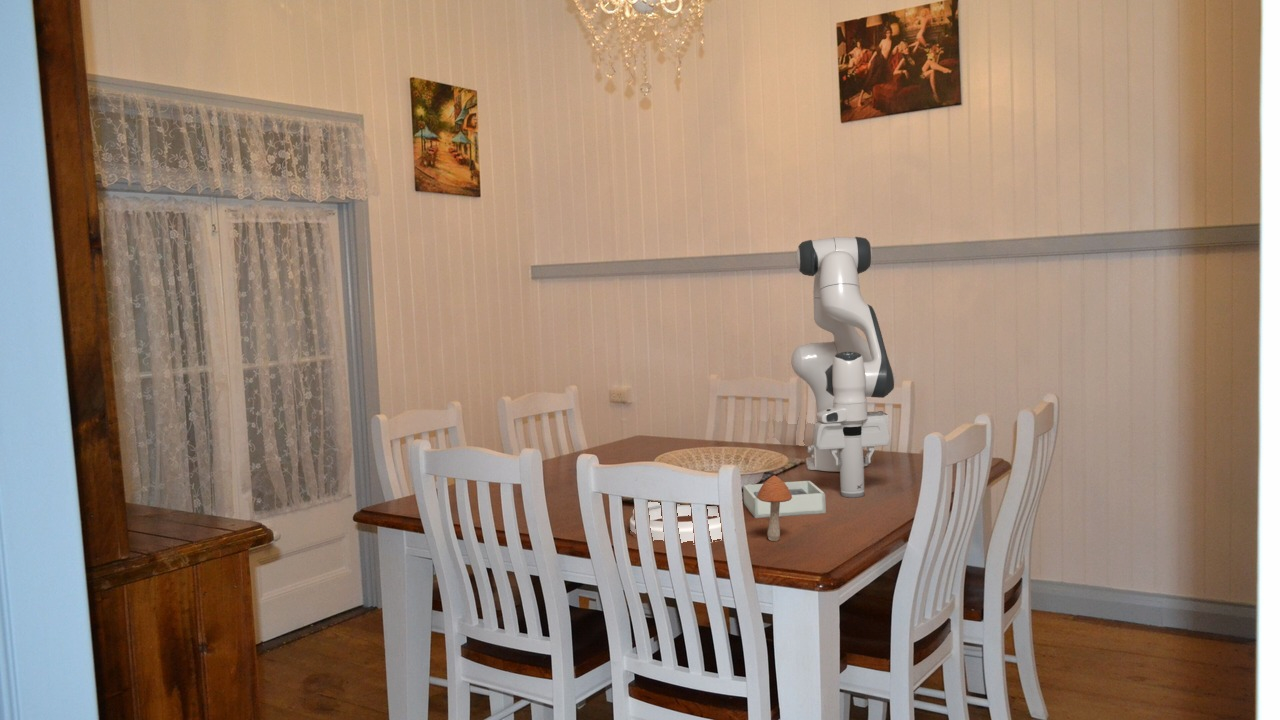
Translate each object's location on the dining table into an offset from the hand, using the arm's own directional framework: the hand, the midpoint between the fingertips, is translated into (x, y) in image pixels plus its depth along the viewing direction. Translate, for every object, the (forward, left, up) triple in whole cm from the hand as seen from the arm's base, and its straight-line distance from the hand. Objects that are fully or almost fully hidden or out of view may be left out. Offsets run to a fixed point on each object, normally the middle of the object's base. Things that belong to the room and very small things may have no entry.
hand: (852, 464), depth 254 cm
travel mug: (-1, 0, -9) cm, 9 cm away
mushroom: (+37, -29, -9) cm, 48 cm away
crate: (+8, -21, -9) cm, 24 cm away
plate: (+22, -48, -9) cm, 54 cm away
